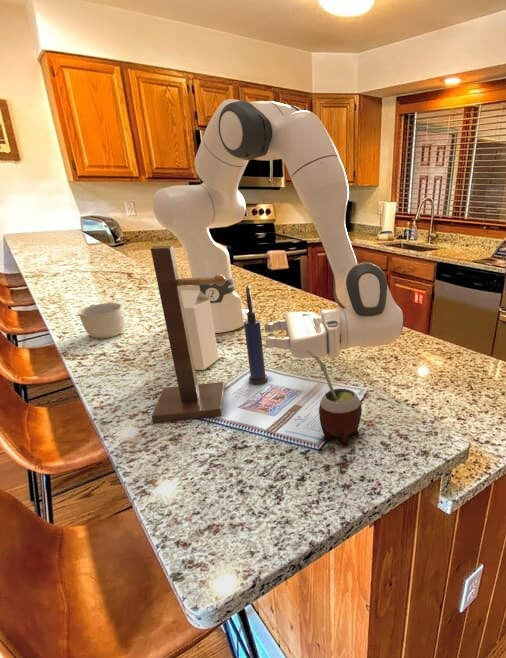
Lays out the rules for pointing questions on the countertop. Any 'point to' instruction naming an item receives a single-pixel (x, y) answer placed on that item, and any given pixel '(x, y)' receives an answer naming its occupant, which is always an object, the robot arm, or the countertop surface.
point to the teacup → (103, 319)
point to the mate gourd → (338, 411)
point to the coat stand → (182, 348)
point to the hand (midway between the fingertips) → (265, 334)
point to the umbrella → (254, 345)
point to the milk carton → (199, 326)
